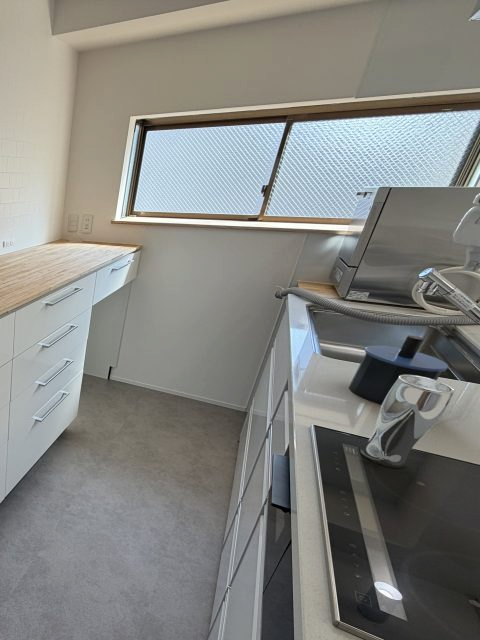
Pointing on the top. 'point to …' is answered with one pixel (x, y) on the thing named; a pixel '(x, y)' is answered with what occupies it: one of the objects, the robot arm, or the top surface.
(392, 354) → the lid
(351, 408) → the top surface
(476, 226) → the robot arm
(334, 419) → the top surface
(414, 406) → the beer glass
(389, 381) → the pot
